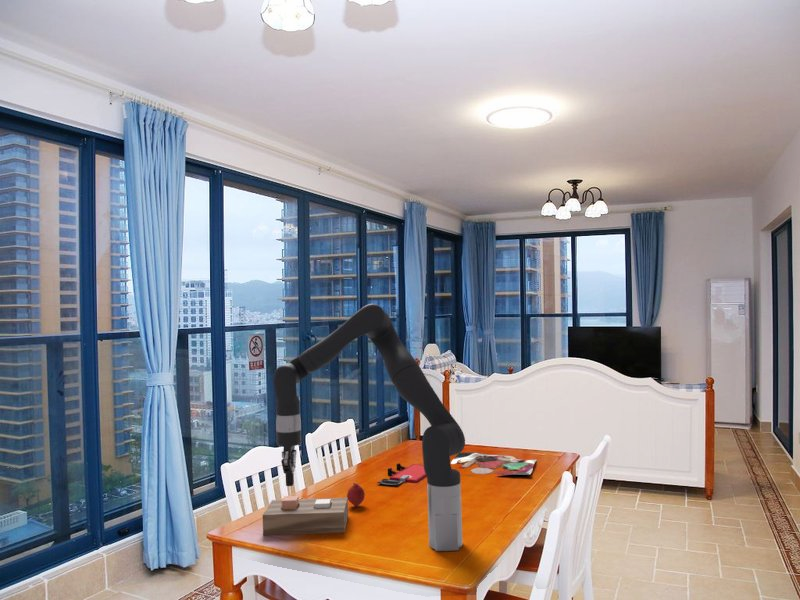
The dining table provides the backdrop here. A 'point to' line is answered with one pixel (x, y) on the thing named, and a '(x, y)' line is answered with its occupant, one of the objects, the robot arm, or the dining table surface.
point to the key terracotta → (290, 502)
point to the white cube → (323, 503)
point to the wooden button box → (305, 518)
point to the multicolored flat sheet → (494, 463)
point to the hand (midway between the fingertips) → (289, 485)
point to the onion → (356, 495)
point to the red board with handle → (405, 475)
